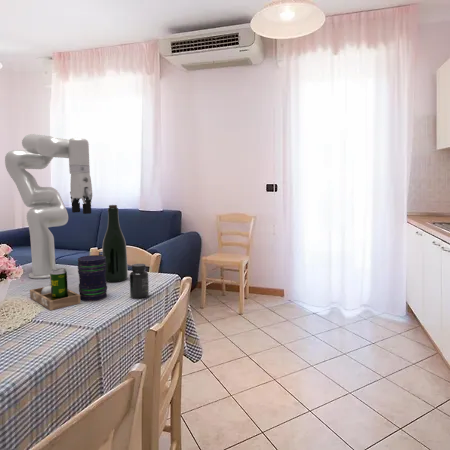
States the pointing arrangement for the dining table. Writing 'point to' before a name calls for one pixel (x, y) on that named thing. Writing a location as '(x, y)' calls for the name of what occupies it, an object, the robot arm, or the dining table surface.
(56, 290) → the beer can
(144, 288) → the supplement bottle
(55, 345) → the dining table surface
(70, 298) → the slot rack
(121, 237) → the wine bottle
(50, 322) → the dining table surface
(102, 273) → the storage jar
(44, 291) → the garlic
